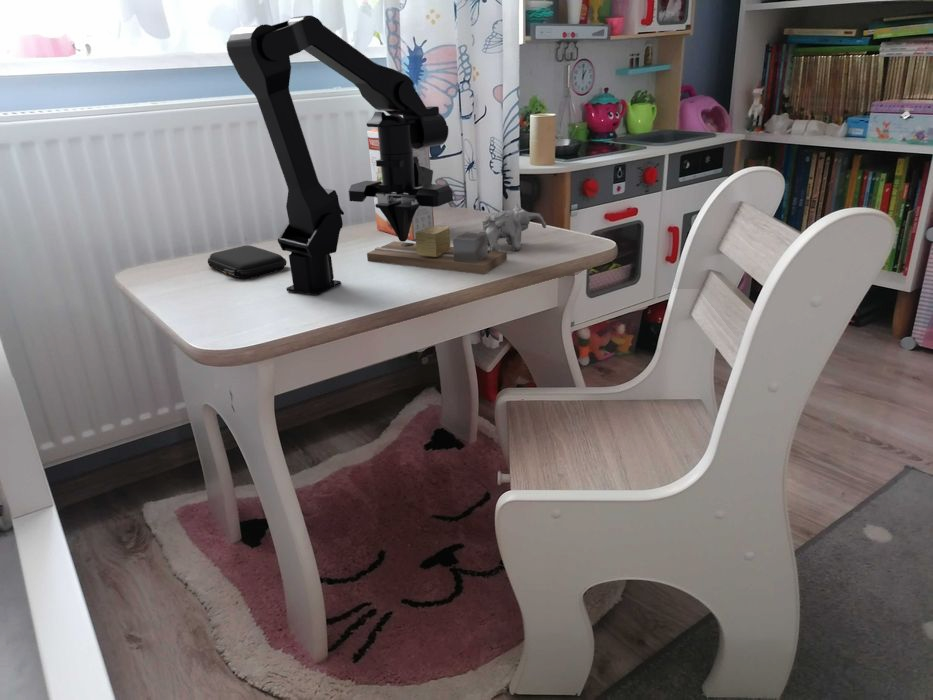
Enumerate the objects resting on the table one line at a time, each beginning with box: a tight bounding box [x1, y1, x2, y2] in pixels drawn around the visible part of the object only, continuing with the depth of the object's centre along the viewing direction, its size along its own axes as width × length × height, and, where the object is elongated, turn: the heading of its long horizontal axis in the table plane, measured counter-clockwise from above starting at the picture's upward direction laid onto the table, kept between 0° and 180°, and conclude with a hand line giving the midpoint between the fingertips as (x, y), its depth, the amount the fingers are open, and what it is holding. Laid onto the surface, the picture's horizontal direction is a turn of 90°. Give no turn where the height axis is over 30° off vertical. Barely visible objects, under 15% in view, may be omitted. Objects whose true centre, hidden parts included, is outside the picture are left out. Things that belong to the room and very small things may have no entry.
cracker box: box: [366, 128, 435, 242], centre depth 142 cm, size 14×6×21 cm, turn 38°
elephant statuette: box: [481, 203, 547, 252], centre depth 131 cm, size 9×12×8 cm
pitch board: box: [366, 231, 508, 275], centre depth 124 cm, size 9×24×6 cm, turn 62°
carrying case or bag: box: [207, 244, 288, 280], centre depth 126 cm, size 11×3×15 cm
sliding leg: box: [415, 225, 451, 257], centre depth 124 cm, size 8×4×4 cm, turn 152°
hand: (403, 241), depth 125 cm, fingers closed
